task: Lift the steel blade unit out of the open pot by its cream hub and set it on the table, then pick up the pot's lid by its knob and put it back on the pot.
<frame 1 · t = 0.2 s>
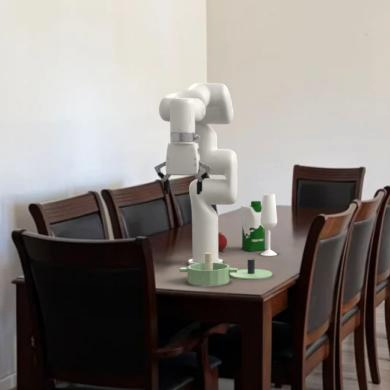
hand: (183, 193, 243), 31 cm above the table, tool pointing down, fingers open, 9 cm apart
lid: (251, 275, 269), point 1 cm above the table
onion: (219, 251, 315), on the table
pot: (208, 282, 259), on the table
champagne flute: (268, 254, 311), on the table
milk carton: (253, 250, 320), on the table
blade: (208, 281, 259), resting on pot
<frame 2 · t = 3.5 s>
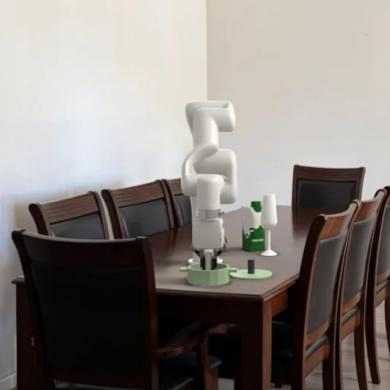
hand: (208, 269, 258), 5 cm above the table, tool pointing down, fingers closed on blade, 2 cm apart
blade: (208, 281, 259), point 1 cm above the table, touching pot, gripper
everything else where it was.
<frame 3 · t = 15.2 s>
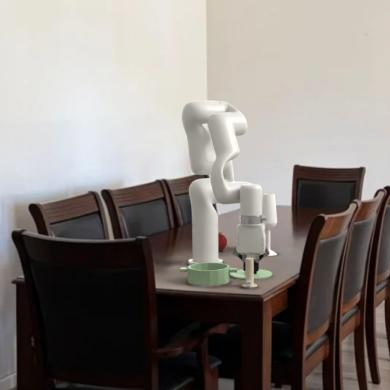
hand: (251, 272, 269), 1 cm above the table, tool pointing down, fingers closed on lid, 2 cm apart
lid: (251, 275, 269), point 1 cm above the table, touching gripper
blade: (249, 287, 253), on the table
everything else where it was.
when the fingers open (6 cm above the table, at t = 21.0 s): lid stays where it is, resting on pot.
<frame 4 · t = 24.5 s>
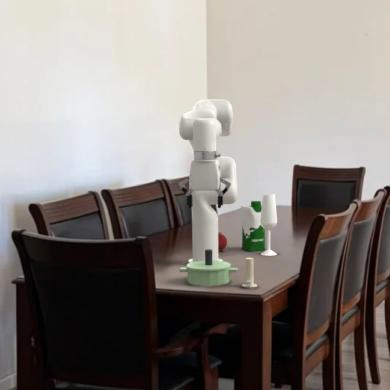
hand: (205, 207, 262), 24 cm above the table, tool pointing down, fingers open, 9 cm apart
lid: (208, 266, 258), point 5 cm above the table, touching pot
everything else where it was.
at the end: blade inside the target area (0.1 cm from its centre), on the table; lid 0.1 cm off-centre on the pot, point 5.5 cm above the pot's base; lid tilted 0° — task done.
